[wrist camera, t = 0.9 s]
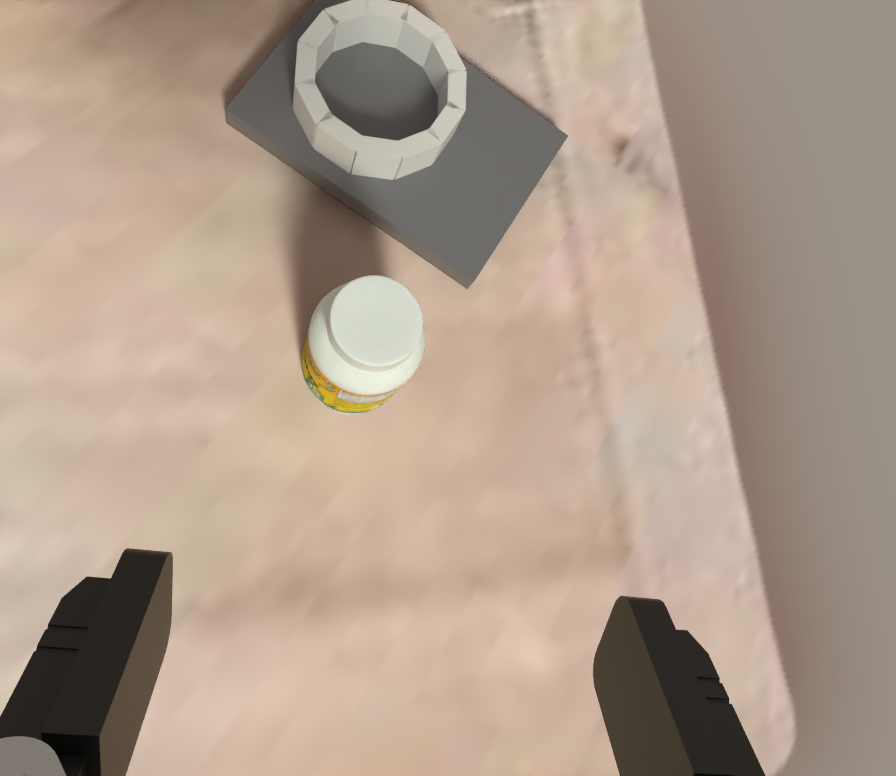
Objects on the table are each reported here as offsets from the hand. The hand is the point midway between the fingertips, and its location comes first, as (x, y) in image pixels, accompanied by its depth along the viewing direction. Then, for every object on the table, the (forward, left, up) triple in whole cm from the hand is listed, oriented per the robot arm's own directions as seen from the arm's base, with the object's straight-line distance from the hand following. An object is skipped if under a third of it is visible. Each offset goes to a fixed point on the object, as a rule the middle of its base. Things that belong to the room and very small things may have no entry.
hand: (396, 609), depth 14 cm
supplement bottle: (-3, +9, -27) cm, 28 cm away
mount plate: (-8, +22, -26) cm, 36 cm away
